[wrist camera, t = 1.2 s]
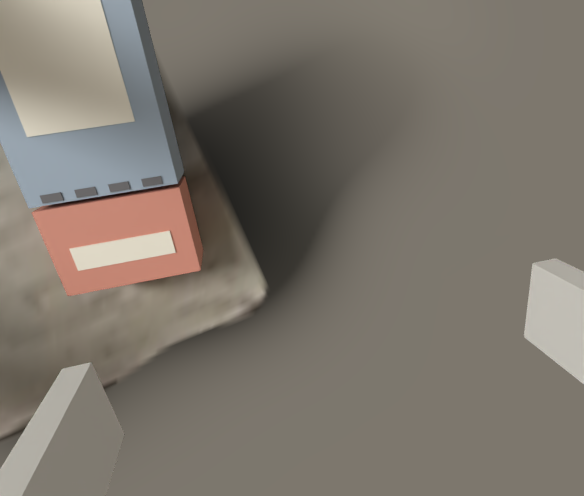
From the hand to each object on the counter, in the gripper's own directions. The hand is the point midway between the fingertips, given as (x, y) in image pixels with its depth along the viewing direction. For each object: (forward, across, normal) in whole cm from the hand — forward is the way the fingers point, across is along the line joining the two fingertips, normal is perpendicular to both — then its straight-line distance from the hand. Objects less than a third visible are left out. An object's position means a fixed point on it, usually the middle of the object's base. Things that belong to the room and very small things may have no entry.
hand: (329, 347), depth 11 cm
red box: (+20, -10, 0) cm, 22 cm away
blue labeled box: (+20, -10, +10) cm, 24 cm away
